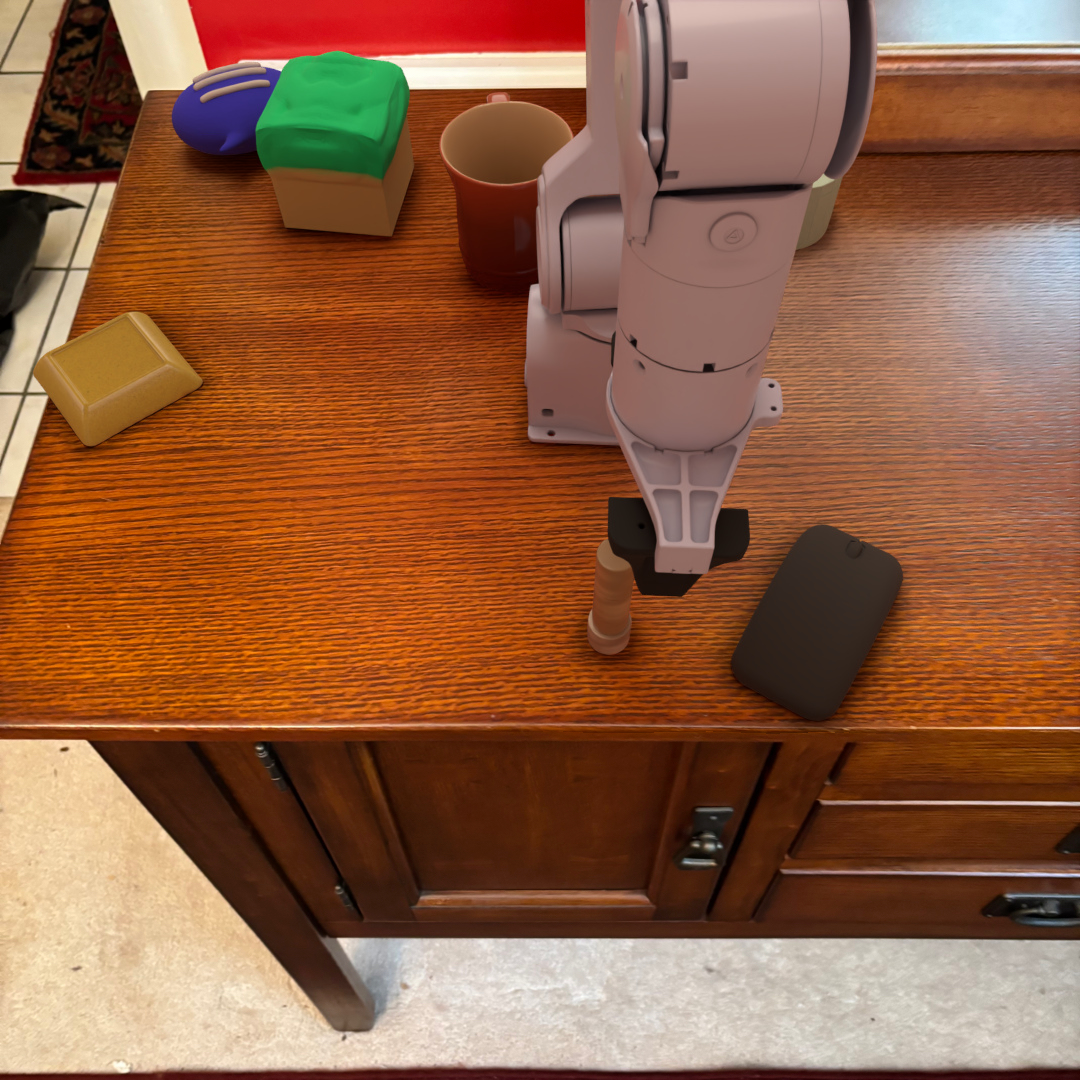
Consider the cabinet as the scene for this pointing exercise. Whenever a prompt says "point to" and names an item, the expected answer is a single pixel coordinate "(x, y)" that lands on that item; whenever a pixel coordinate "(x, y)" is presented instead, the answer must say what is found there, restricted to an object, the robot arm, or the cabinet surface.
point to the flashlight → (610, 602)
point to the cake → (338, 143)
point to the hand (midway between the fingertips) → (660, 520)
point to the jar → (818, 210)
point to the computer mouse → (817, 621)
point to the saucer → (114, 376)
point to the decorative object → (224, 108)
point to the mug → (500, 186)
